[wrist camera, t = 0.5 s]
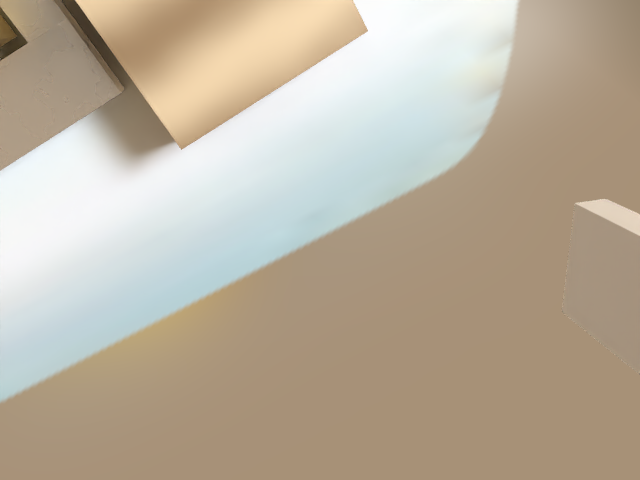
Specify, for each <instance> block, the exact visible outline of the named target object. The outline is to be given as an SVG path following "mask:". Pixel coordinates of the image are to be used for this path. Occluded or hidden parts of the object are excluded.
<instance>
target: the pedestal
mask: <svg viewBox="0 0 640 480" xmlns="http://www.w3.org/2000/svg"><path fill="white" fill-rule="evenodd" d="M75 1H76V2H77V3H78V5H79V6H80V8H81V9H82V10H83V12H84V13H85V15H86V16H87V17H88V19H89V20H90V22H91V23H92V24H93V26H94V27H95V29H96V30H97V32H98V33H99V34H100V36H101V37H102V39H103V40H104V41H105V43H106V44H107V46H108V47H109V48H110V50H111V51H112V53H113V54H114V55H115V57H116V58H117V60H118V61H119V63H120V64H121V65H122V67H123V68H124V70H125V71H126V72H127V74H128V75H129V77H130V78H131V79H132V81H133V82H134V84H135V85H136V86H137V88H138V89H139V91H140V92H141V93H142V95H143V96H144V98H145V99H146V101H147V102H148V103H149V105H150V106H151V108H152V109H153V110H154V112H155V113H156V115H157V116H158V117H159V119H160V120H161V122H162V123H163V124H164V126H165V127H166V129H167V130H168V132H169V133H170V134H171V136H172V137H173V139H174V140H175V141H176V143H177V144H178V146H179V147H180V148H181V150H182V149H183V148H185V147H186V146H188V145H190V144H191V143H193V142H194V141H196V140H197V139H199V138H201V137H202V136H204V135H205V134H207V133H208V132H210V131H212V130H213V129H215V128H216V127H218V126H219V125H221V124H223V123H224V122H226V121H227V120H229V119H230V118H232V117H234V116H235V115H237V114H238V113H240V112H241V111H243V110H245V109H246V108H248V107H249V106H251V105H252V104H254V103H256V102H257V101H259V100H260V99H262V98H263V97H265V96H267V95H268V94H270V93H271V92H273V91H274V90H276V89H278V88H279V87H281V86H282V85H284V84H285V83H287V82H289V81H290V80H292V79H293V78H295V77H296V76H298V75H300V74H301V73H303V72H304V71H306V70H307V69H309V68H311V67H312V66H314V65H315V64H317V63H318V62H320V61H322V60H323V59H325V58H326V57H328V56H329V55H331V54H333V53H334V52H336V51H337V50H339V49H340V48H342V47H344V46H345V45H347V44H348V43H350V42H351V41H353V40H355V39H356V38H358V37H359V36H361V35H362V34H364V33H366V32H367V31H368V30H367V28H366V26H365V24H364V22H363V20H362V18H361V16H360V14H359V12H358V10H357V8H356V6H355V4H354V2H353V0H75Z"/></svg>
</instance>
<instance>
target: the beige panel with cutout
mask: <svg viewBox="0 0 640 480" xmlns="http://www.w3.org/2000/svg"><path fill="white" fill-rule="evenodd" d="M0 7H1V8H2V10H3V11H4V12H5V14H6V15H7V16H8V17H9V19H10V20H11V21H12V23H13V24H14V25H15V27H16V28H17V29H18V30H19V32H20V33H21V34H22V36H23V37H24V38H25V39H26V41H27V42H28V43H27V44H26V45H24V46H23V47H21V48H20V49H18V50H16V51H15V52H13V53H12V54H10V55H9V56H7V57H5V58H4V59H2V60H1V61H0V170H2V169H3V168H5V167H6V166H8V165H10V164H11V163H13V162H14V161H16V160H17V159H19V158H21V157H22V156H24V155H25V154H27V153H28V152H30V151H32V150H33V149H35V148H36V147H38V146H39V145H41V144H42V143H44V142H46V141H47V140H49V139H50V138H52V137H53V136H55V135H57V134H58V133H60V132H61V131H63V130H64V129H66V128H68V127H69V126H71V125H72V124H74V123H75V122H77V121H78V120H80V119H82V118H83V117H85V116H86V115H88V114H89V113H91V112H93V111H94V110H96V109H97V108H99V107H100V106H102V105H104V104H105V103H107V102H108V101H110V100H111V99H113V98H114V97H116V96H118V95H119V94H121V93H122V92H123V90H124V89H125V88H124V87H123V85H122V84H121V83H120V81H119V80H118V79H117V77H116V76H115V74H114V73H113V72H112V70H111V69H110V67H109V66H108V65H107V63H106V62H105V61H104V59H103V58H102V56H101V55H100V54H99V52H98V51H97V49H96V48H95V47H94V45H93V44H92V42H91V41H90V40H89V38H88V37H87V36H86V34H85V33H84V31H83V30H82V29H81V27H80V26H79V24H78V23H77V22H76V20H75V19H74V18H73V16H72V15H71V13H70V12H69V11H68V9H67V8H66V6H65V5H64V4H63V2H62V1H61V0H0Z"/></svg>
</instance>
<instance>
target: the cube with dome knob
mask: <svg viewBox="0 0 640 480" xmlns="http://www.w3.org/2000/svg"><path fill="white" fill-rule="evenodd" d="M15 37H17V35H16V34H15V33H14V31H13V30H12V29H11V27H10V26H9V25H8V24H7V22H6V21H5V20H4V18H3V17H2V16H1V14H0V47H1V46H3V45H5V44H6V43H8V42H9V41H11V40H12V39H14V38H15Z"/></svg>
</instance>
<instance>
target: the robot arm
mask: <svg viewBox="0 0 640 480" xmlns="http://www.w3.org/2000/svg"><path fill="white" fill-rule="evenodd" d="M562 312H563V313H564V314H565V315H566V316H568V317H569V318H570V319H571V320H572V321H574V322H575V323H576V324H577V325H579V326H580V327H581V328H582V329H584V330H585V331H586V332H587V333H589V334H590V335H591V336H592V337H594V338H595V339H596V340H597V341H599V342H600V343H601V344H602V345H604V346H605V347H606V348H607V349H609V350H610V351H611V352H612V353H614V354H615V355H616V356H617V357H618V358H620V359H621V360H622V361H623V362H625V363H626V364H627V365H628V366H630V367H631V368H632V369H633V370H635V371H636V372H637V373H638V374H640V214H638V213H636V212H633V211H631V210H629V209H627V208H624V207H622V206H620V205H618V204H616V203H614V202H611V201H609V200H607V199H601V200H595V201H588V202H581V203H575V206H574V214H573V223H572V231H571V240H570V249H569V257H568V266H567V274H566V282H565V291H564V299H563V308H562Z"/></svg>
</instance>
